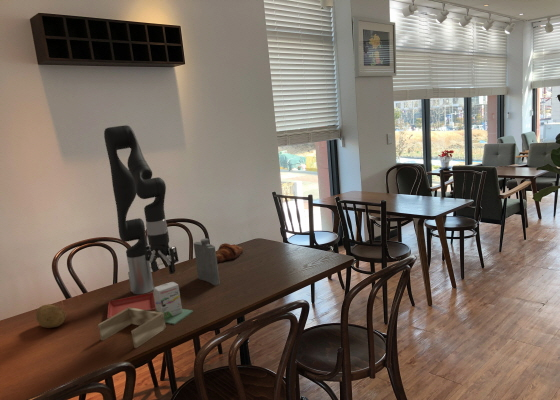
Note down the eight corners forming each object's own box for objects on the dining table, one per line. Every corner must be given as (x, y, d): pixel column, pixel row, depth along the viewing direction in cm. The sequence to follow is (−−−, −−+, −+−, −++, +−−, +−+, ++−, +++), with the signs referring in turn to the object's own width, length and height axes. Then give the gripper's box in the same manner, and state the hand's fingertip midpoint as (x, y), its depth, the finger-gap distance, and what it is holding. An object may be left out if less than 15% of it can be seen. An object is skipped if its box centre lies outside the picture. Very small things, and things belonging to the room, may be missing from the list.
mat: (146, 319, 165) (146, 318, 165) (166, 307, 175) (166, 306, 175) (174, 324, 159) (174, 323, 159) (193, 311, 168) (193, 310, 168)
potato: (48, 336, 160) (43, 316, 158) (32, 327, 169) (28, 308, 167) (74, 325, 167) (70, 305, 165) (58, 317, 176) (54, 298, 174)
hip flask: (197, 278, 205) (191, 238, 201) (204, 275, 208) (199, 235, 204) (215, 285, 193) (209, 243, 189) (222, 283, 196) (217, 240, 192)
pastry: (216, 254, 241) (214, 240, 240) (243, 251, 241) (242, 237, 240) (212, 264, 225) (210, 249, 223) (242, 261, 225) (240, 246, 223)
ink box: (162, 320, 162) (157, 291, 160) (157, 316, 166) (152, 287, 164) (183, 312, 167) (178, 283, 165) (177, 308, 171) (173, 280, 169)
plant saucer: (154, 298, 186) (153, 291, 185) (157, 315, 169) (156, 307, 169) (110, 308, 180) (108, 301, 180) (108, 326, 164) (107, 318, 163)
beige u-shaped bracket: (101, 340, 152) (98, 324, 151) (131, 321, 165) (128, 307, 164) (136, 348, 144) (133, 331, 143) (165, 328, 157) (163, 312, 155)
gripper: (136, 233, 160) (142, 274, 164) (165, 235, 154) (171, 277, 157) (150, 227, 167) (156, 267, 170) (178, 229, 160) (184, 270, 164)
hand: (163, 272), depth 164 cm, fingers open, 8 cm apart
